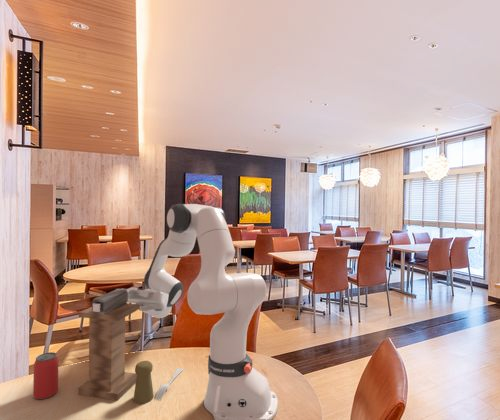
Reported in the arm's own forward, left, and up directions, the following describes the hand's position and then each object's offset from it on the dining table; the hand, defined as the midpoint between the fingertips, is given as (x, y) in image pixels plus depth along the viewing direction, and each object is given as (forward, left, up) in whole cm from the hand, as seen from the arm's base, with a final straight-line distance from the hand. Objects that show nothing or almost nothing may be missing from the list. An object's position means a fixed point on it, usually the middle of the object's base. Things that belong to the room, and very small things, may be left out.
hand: (130, 291), depth 114 cm
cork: (-14, +14, -29) cm, 35 cm away
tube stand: (0, +11, -29) cm, 31 cm away
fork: (-18, +5, -29) cm, 35 cm away
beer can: (+17, +19, -29) cm, 39 cm away
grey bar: (0, +7, -2) cm, 7 cm away
